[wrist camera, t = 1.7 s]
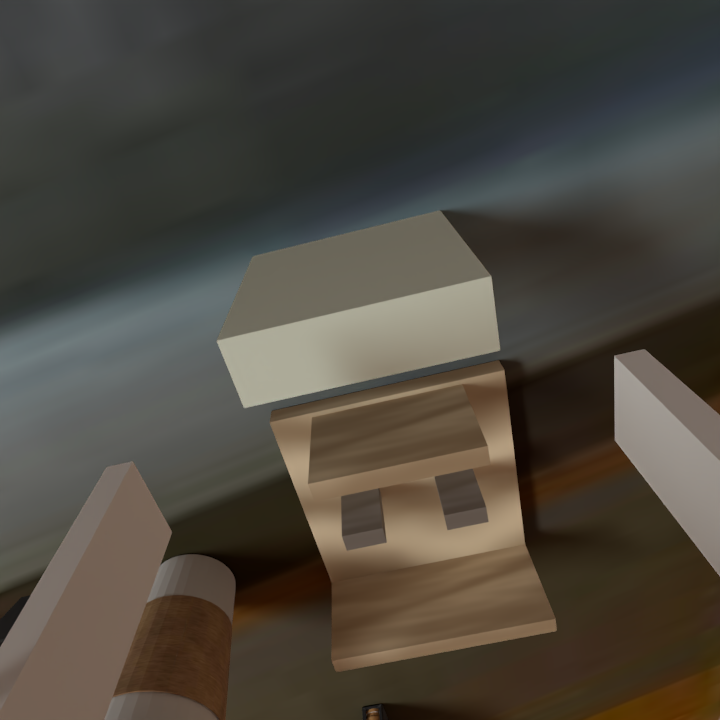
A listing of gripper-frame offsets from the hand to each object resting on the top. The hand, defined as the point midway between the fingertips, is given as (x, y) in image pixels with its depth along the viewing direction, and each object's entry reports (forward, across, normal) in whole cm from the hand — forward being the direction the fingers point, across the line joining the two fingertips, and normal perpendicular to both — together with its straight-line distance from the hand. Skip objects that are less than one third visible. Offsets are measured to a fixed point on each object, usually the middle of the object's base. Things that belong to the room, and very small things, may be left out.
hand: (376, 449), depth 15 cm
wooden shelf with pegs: (+16, 0, -16) cm, 22 cm away
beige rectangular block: (+16, 0, 0) cm, 16 cm away
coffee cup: (+16, -17, -21) cm, 31 cm away
